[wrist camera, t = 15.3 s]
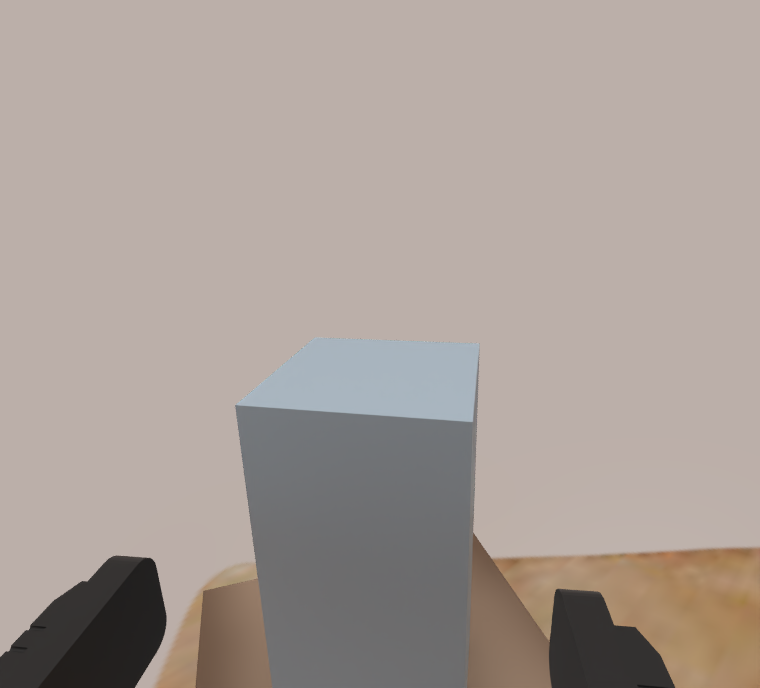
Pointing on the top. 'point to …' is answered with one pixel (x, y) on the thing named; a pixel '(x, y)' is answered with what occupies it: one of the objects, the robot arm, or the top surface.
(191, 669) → the top surface
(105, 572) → the robot arm
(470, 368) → the slate block
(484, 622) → the walnut block
